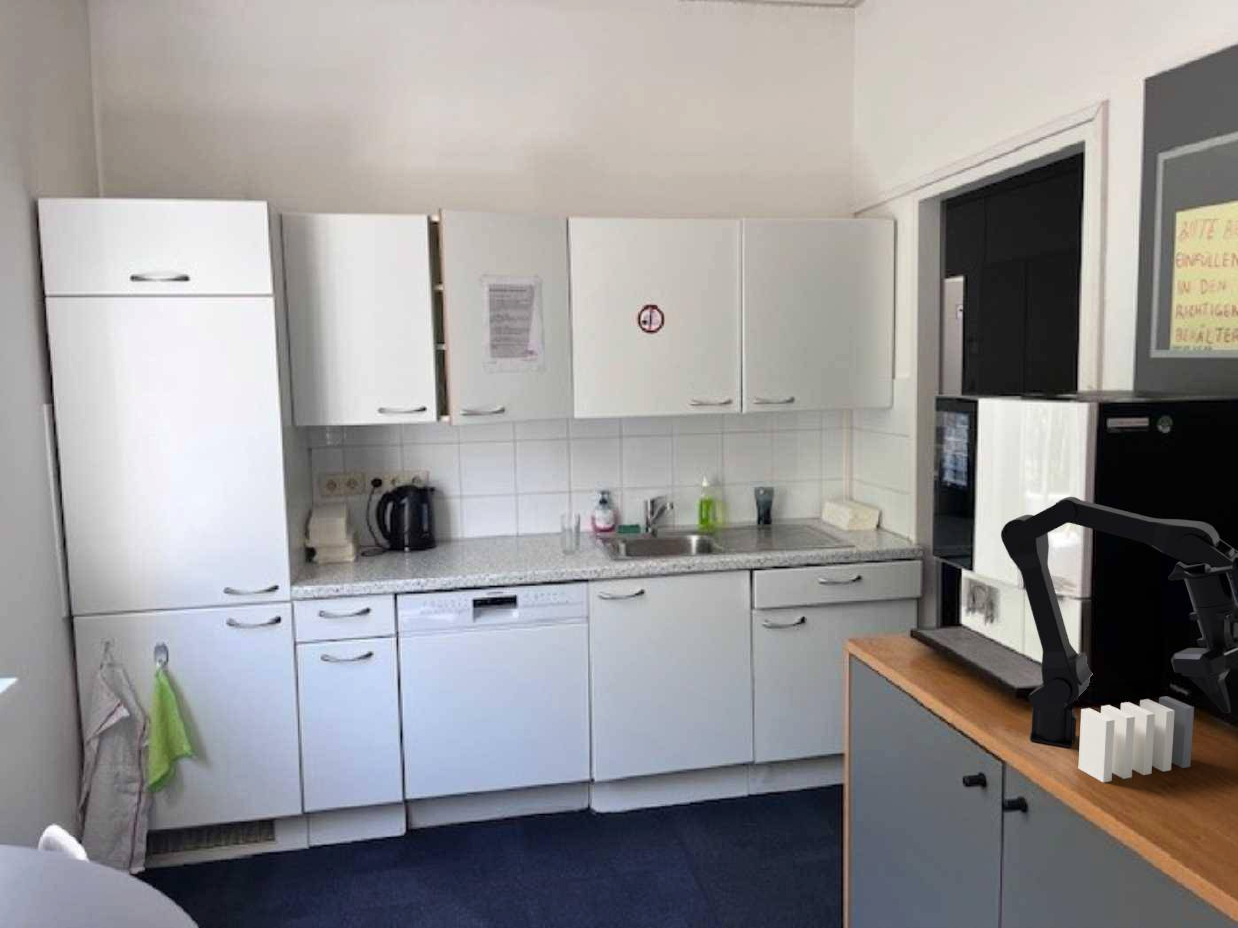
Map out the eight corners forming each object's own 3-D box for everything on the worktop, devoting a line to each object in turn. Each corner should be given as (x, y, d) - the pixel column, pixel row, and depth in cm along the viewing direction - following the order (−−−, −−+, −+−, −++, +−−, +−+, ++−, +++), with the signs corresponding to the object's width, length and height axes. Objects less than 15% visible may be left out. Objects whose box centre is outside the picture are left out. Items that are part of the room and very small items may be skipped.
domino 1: (1103, 782, 137) (1106, 721, 136) (1078, 768, 142) (1081, 709, 141) (1111, 780, 138) (1114, 719, 137) (1086, 766, 143) (1089, 707, 141)
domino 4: (1163, 771, 141) (1166, 711, 140) (1136, 758, 145) (1140, 700, 144) (1170, 769, 141) (1174, 710, 140) (1144, 756, 146) (1147, 698, 145)
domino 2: (1123, 778, 139) (1126, 717, 137) (1098, 764, 143) (1101, 706, 142) (1131, 777, 139) (1135, 716, 138) (1106, 763, 144) (1109, 704, 143)
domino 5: (1182, 767, 142) (1186, 708, 141) (1155, 754, 147) (1159, 697, 145) (1190, 766, 142) (1194, 707, 141) (1163, 753, 147) (1166, 696, 146)
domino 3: (1143, 774, 140) (1147, 714, 138) (1117, 761, 144) (1120, 703, 143) (1151, 773, 140) (1155, 713, 139) (1125, 760, 145) (1128, 701, 144)
